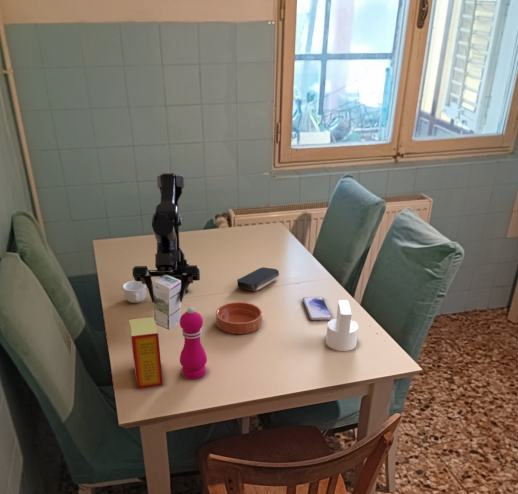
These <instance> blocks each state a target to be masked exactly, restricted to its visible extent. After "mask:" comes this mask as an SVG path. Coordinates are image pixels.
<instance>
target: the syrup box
mask: <svg viewBox="0 0 518 494" xmlns="http://www.w3.org/2000/svg"><path fill="white" fill-rule="evenodd" d="M180 291H181V280H179V279H176V278H174V277H171V276H168V275H166V274H165V275H163V276H161V277H157V278H156V279H154V280H153V292H154V303H153V316H154V319H155V323H156V326H158V327H161V328H163V329H166V330H168V331H170V330H172V329H173V328H175V327H176V326H177V325H180V318H181V303H182V302H180Z"/></svg>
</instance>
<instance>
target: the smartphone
mask: <svg viewBox="0 0 518 494" xmlns="http://www.w3.org/2000/svg"><path fill="white" fill-rule="evenodd" d="M302 301H303V304H304V306H305V308H306V312H307V315H308V316H309V319H310V320H311V321H324V320H325V321H330V320H332V319H333V316H332V314H331V312H330V309H329V307H328V305H327V304H326V301H325V300H324V297H322V296H304V297H302Z"/></svg>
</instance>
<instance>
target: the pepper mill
mask: <svg viewBox="0 0 518 494" xmlns="http://www.w3.org/2000/svg"><path fill="white" fill-rule="evenodd" d="M179 326H180V328H181V329H182V330H181V332H182V334H181V335H182V337H183V338H184V341H183V342H184V343H183V347H182V349H181V352H180V355H179V363H180V365H181V366H182V368H181V370H182V376H183V377H185V378H186V379H190V380H197V379H200V378H201V379H202V378H203V377H204V376H205V375H206V372H207V371H206V364H207V362H208V357H207V352H206V351H205V349H204V347H203V345H202V342H201V336H202V334H203V333H202V331H203V330H202V328H203V326H204V318H203V316H202V315H201V314H200V313H199V312H198V311H195V308H194V307H191V306H190V307H188V308H187V311H185V312H184V313H182V314H181V315H180V323H179Z"/></svg>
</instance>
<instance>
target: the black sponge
mask: <svg viewBox="0 0 518 494" xmlns="http://www.w3.org/2000/svg"><path fill="white" fill-rule="evenodd" d="M279 277H280V272H279V269H276V268H272V267H271V268H270V267H263V266H262V267H259V268H257V269H255V270H254V271H252V272H249V273H248V274H246V275H244V276H242V277H239V278H238V279H237V280H236V281H237V287H238V288H239V289H245V290H248V291H252V292H253V291H254V292H257V291H259V290H262V289H263V288H264V287H266V286H267V285H269V284H271V283H273V282H274V281H277V280H278V279H279Z"/></svg>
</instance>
